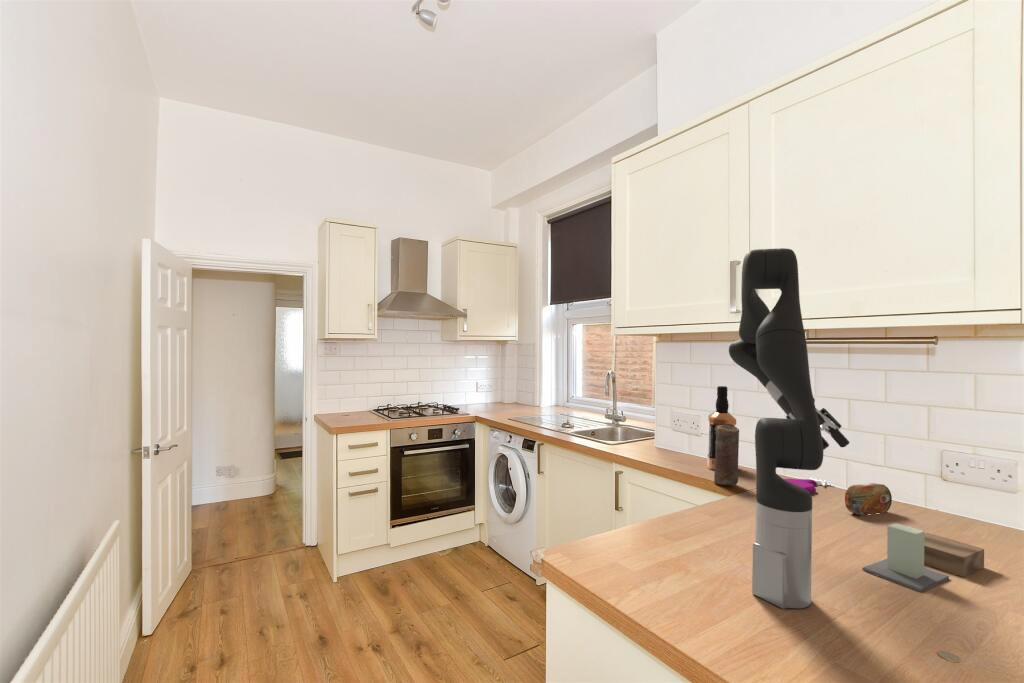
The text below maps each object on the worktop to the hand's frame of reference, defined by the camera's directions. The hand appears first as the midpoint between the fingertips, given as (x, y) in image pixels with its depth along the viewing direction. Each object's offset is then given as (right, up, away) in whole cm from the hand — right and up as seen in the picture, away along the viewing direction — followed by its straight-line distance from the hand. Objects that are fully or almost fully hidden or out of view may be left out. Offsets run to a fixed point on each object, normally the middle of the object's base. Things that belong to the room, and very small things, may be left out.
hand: (836, 446), depth 114 cm
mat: (+5, -23, -14) cm, 28 cm away
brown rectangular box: (+18, -24, -8) cm, 31 cm away
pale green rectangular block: (+5, -23, -14) cm, 27 cm away
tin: (+25, -25, +24) cm, 43 cm away
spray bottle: (+21, -25, +48) cm, 58 cm away
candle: (-4, -24, +50) cm, 56 cm away
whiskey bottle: (+5, -25, +74) cm, 79 cm away
